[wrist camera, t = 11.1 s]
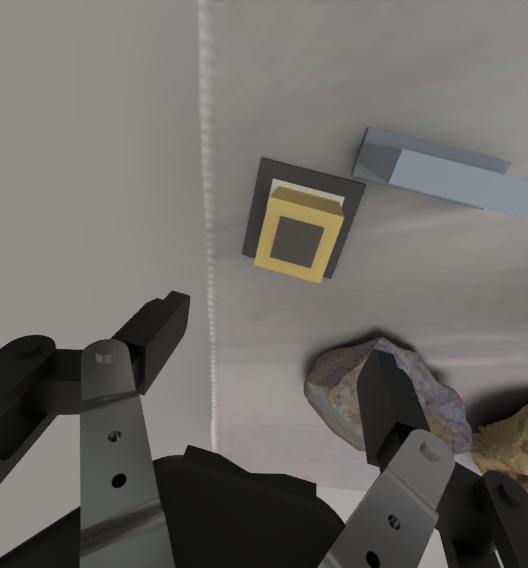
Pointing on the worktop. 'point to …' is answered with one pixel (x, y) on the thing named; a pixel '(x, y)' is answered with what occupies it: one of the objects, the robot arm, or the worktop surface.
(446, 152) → the screen
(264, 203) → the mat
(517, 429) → the fossil
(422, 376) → the stone
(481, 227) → the worktop surface
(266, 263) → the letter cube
